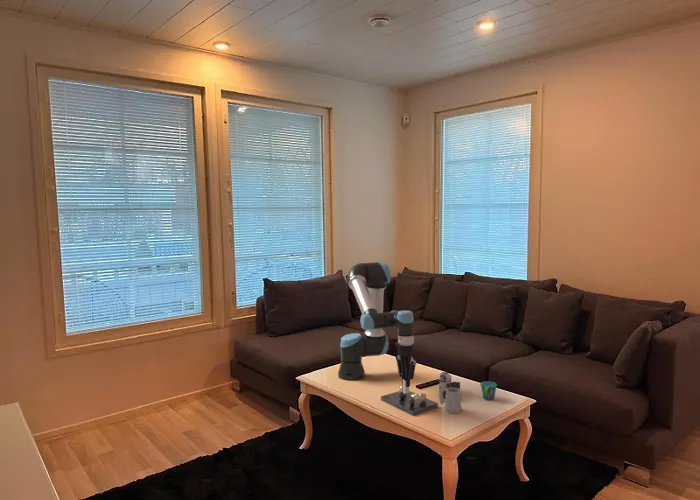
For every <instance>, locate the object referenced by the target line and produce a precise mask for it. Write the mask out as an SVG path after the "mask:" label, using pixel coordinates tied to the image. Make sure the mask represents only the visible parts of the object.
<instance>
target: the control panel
mask: <svg viewBox="0 0 700 500" xmlns="http://www.w3.org/2000/svg"><path fill="white" fill-rule="evenodd" d="M399 392H400V390H398V391H395V392H392V393H389V394H385V395H381V396H380V401H382V402H384V403H386V404H388V405H390V406H392V407H394V408H396V409H399V410H400V411H402V412H404V413H406V414H408V415H409V416H416V415H419V414H421V413H424V412H428V411H431V410H433V409H436V408H438V407H439V404H438V402H436V401H433V400H432V399H429V398H427V397H426V404H420V403H416V404H414V407H410V406H409V398H416V397H419V394H420V393H415V392H412V391H410V390H409V393H407V394H406V395H404V400H400V399H399Z"/></svg>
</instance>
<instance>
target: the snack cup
mask: <svg viewBox="0 0 700 500" xmlns="http://www.w3.org/2000/svg"><path fill="white" fill-rule="evenodd" d="M480 387H481V393H482V398H483V399H484V400H487V401H489V400H490V401H492V400H495V397H496V391H497V387H498V385H497V383H496V382H494V381H490V380H489V381H487V380H486V381H485V380H484V381H482V382H480Z"/></svg>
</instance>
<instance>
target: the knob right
mask: <svg viewBox="0 0 700 500" xmlns="http://www.w3.org/2000/svg"><path fill="white" fill-rule="evenodd" d="M418 394H419V397H416V398H409V406H410V407H414V404H416V403H420V404H426V398H427V394H426V393H418Z"/></svg>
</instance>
